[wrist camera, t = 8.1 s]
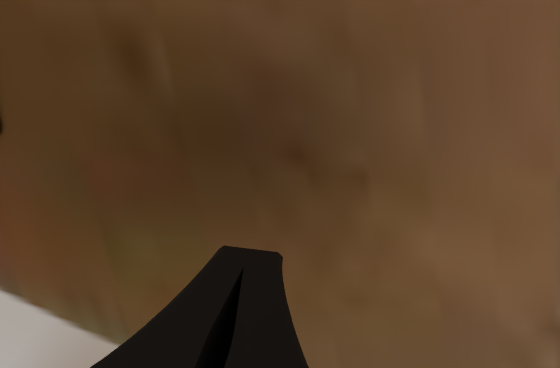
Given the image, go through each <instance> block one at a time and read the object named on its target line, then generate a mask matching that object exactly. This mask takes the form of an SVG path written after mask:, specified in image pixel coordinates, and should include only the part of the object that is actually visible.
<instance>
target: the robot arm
mask: <svg viewBox="0 0 560 368" xmlns="http://www.w3.org/2000/svg"><path fill="white" fill-rule="evenodd" d="M282 261H283V257H282V256H281V255H280V254H279V253H278V252H271V251H263V250H255V249H247V248H239V247H231V246H223V247H221V248H220V249H219V250H218V251H217V252H216V253H215V255H214V256H213V257H212V258H211V259H210V261H209V262H208V263H207V264H206V265H205V266H204V268H203V269H202V270H201V271H200V272H199V273H198V274H197V275H196V277H195V278H194V279H193V280H192V281H191V282H190V283H189V284H188V285H187V286H186V287H185V288H184V289H183V290H182V291H181V292H180V293H179V294H178V295H177V296H176V297H175V298H174V299H173V300H172V301H171V302H170V303H169V304H168V305H167V306H166V307H165V308H164V309H163V310H162V311H160V312H159V313H158V314H157V315H156V316H155V317H154V318H153V319H152V320H151V321H149V322H148V323H147V324H146V325H145V326H144V327H143V328H142V329H140V330H139V331H138V332H137V333H136V334H134V335H133V336H132V337H131V338H129V339H128V340H127V341H126V342H124V343H123V344H122V345H121V346H119V347H118V348H117V349H115V350H114V351H113V352H111V353H110V354H109V355H108V356H106V357H105V358H103V359H102V360H101V361H99V362H97V363H96V364H94V365H93V366H92V367H90V368H309V367H308V365H307V363H306V360H305V357H304V355H303V352H302V349H301V347H300V344H299V341H298V338H297V335H296V332H295V329H294V326H293V322H292V319H291V315H290V311H289V307H288V304H287V299H286V295H285V289H284V283H283V276H282Z"/></svg>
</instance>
